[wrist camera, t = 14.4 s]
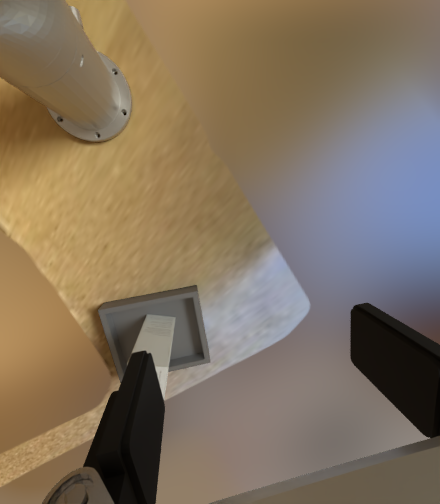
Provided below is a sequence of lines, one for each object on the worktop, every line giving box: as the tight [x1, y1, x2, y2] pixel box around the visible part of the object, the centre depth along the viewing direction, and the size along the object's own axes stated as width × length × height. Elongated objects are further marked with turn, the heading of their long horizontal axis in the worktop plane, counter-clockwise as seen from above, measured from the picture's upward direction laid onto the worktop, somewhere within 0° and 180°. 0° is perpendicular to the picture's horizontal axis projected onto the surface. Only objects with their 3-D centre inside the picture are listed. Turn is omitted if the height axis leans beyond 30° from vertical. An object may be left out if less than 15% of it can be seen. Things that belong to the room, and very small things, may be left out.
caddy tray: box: [98, 285, 210, 383], centre depth 45 cm, size 16×18×3 cm
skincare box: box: [127, 314, 175, 399], centre depth 39 cm, size 8×6×15 cm
